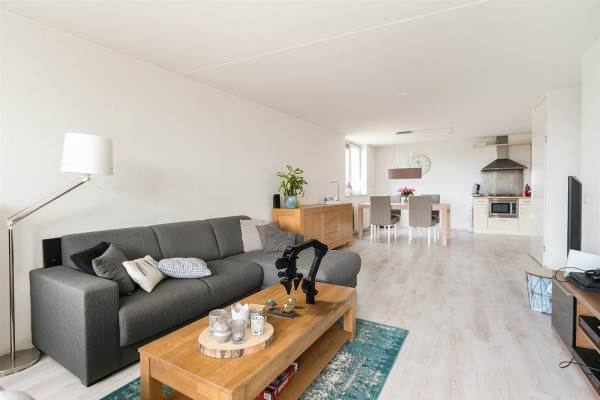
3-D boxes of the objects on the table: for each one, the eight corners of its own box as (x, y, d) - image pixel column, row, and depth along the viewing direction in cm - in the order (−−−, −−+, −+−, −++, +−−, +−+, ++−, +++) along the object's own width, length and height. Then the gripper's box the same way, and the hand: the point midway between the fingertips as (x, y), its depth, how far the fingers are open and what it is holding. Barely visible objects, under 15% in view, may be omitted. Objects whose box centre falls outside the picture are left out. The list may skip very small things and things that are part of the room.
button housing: (269, 304, 195) (269, 299, 195) (275, 305, 193) (275, 300, 193) (265, 307, 191) (265, 302, 191) (271, 308, 189) (271, 303, 189)
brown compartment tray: (273, 309, 187) (273, 305, 187) (298, 314, 179) (298, 309, 179) (263, 316, 177) (263, 311, 177) (289, 321, 169) (289, 316, 169)
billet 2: (291, 306, 190) (291, 297, 190) (297, 307, 188) (296, 298, 188) (288, 309, 186) (287, 299, 186) (293, 310, 184) (293, 300, 184)
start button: (270, 303, 194) (270, 298, 194) (273, 304, 193) (273, 299, 193) (267, 305, 192) (267, 300, 192) (271, 305, 190) (271, 300, 190)
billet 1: (286, 312, 179) (286, 302, 178) (292, 314, 177) (292, 303, 177) (283, 315, 175) (282, 304, 175) (289, 316, 173) (289, 305, 173)
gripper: (287, 262, 198) (288, 286, 199) (271, 269, 182) (272, 295, 182) (303, 264, 193) (303, 288, 194) (288, 271, 177) (289, 298, 177)
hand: (292, 292), depth 187 cm, fingers open, 8 cm apart
